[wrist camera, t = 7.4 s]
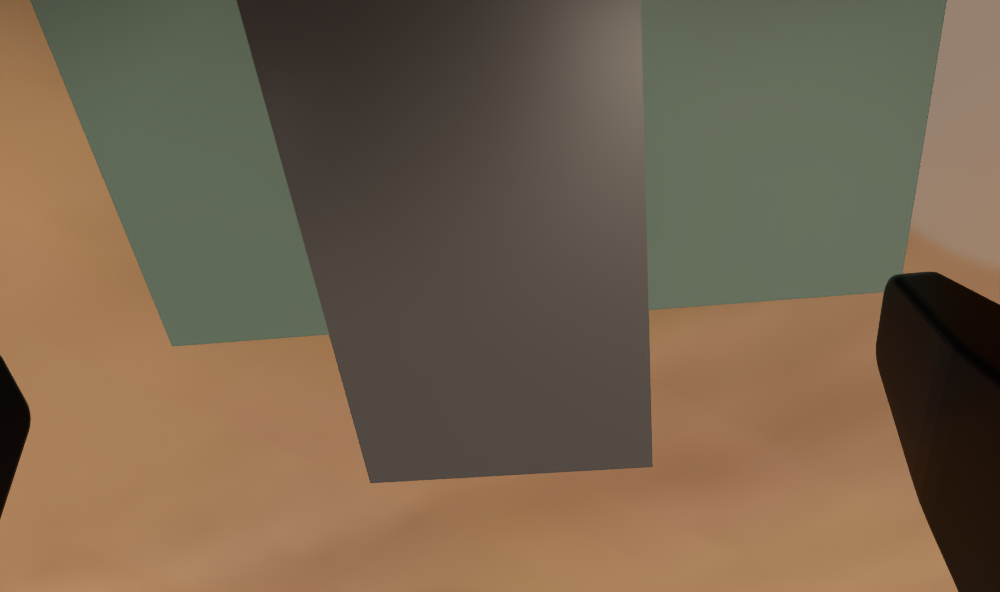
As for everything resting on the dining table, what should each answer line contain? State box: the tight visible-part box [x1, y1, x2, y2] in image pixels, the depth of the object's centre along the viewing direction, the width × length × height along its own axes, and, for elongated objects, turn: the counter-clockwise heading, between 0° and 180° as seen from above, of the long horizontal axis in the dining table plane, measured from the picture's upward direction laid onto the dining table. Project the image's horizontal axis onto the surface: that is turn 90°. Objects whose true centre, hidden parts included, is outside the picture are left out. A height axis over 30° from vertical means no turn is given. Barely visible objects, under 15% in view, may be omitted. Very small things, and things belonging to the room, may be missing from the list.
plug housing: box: [237, 0, 652, 483], centre depth 14 cm, size 4×9×6 cm, turn 6°
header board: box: [30, 0, 947, 346], centre depth 15 cm, size 16×12×6 cm
